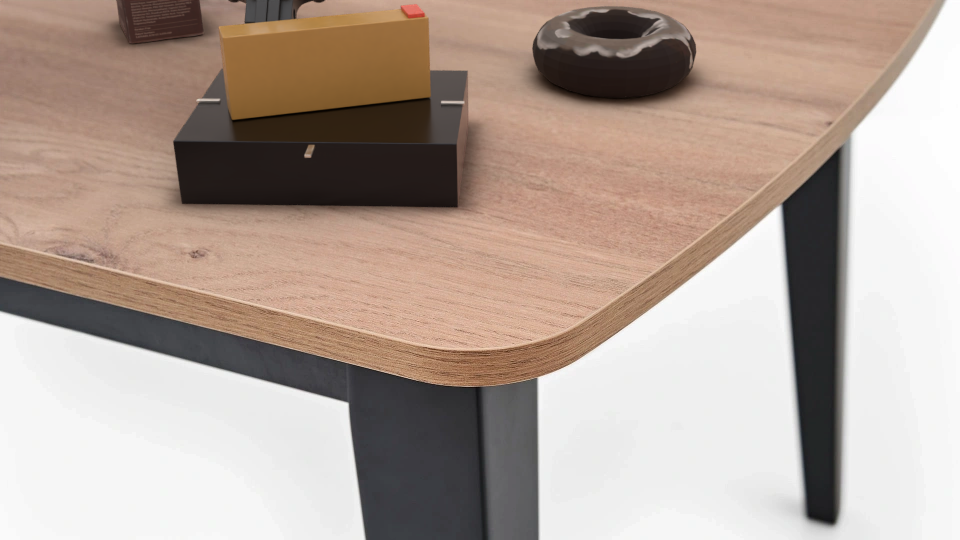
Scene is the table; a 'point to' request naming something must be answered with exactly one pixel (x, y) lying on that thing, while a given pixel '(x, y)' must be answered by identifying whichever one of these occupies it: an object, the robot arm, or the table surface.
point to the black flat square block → (328, 152)
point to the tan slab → (325, 62)
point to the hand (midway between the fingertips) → (267, 59)
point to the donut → (614, 51)
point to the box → (159, 19)
